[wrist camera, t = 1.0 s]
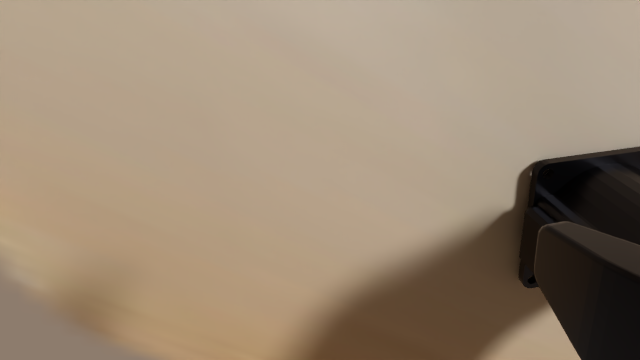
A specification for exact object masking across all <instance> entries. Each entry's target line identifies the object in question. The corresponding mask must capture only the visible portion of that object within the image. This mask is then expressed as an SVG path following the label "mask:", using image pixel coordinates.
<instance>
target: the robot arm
mask: <svg viewBox="0 0 640 360" xmlns="http://www.w3.org/2000/svg"><path fill="white" fill-rule="evenodd" d="M547 169H549V170H548V172H547V173H546V174H545V175H543V173H544V171H545V170H547ZM519 257H520V259H521V261H520V269H519V280H520V281H521V283H522V284H523V285H524V286H525V287H527V288H535V287H540V289H541V291H542V292H543V294H544V296H545V298H546V299H547V301H548V303H549V305H550V306H551V308H552V310H553V312H554V313H555V315H556V317H557V319H558V320H559V322H560V324H561V326H562V327H563V329H564V331H565V333H566V334H567V336H568V338H569V340H570V341H571V343H572V345H573V347H574V348H575V350H576V352H577V353H578V355H579V357H580V358H581V360H640V147H634V148H627V149H619V150H612V151H604V152H597V153H590V154H582V155H575V156H567V157H560V158H553V159H545V160H542V161H540V162H538V163H537V164H536V165H535V166H534V168H533V171H532V178H531V186H530V193H529V201H528V208H527V210H526V212H525V217H524V224H523V232H522V240H521V247H520V255H519ZM532 275H533V276H532ZM530 276H532V277H531V278H529V277H530ZM528 278H529V279H528Z"/></svg>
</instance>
